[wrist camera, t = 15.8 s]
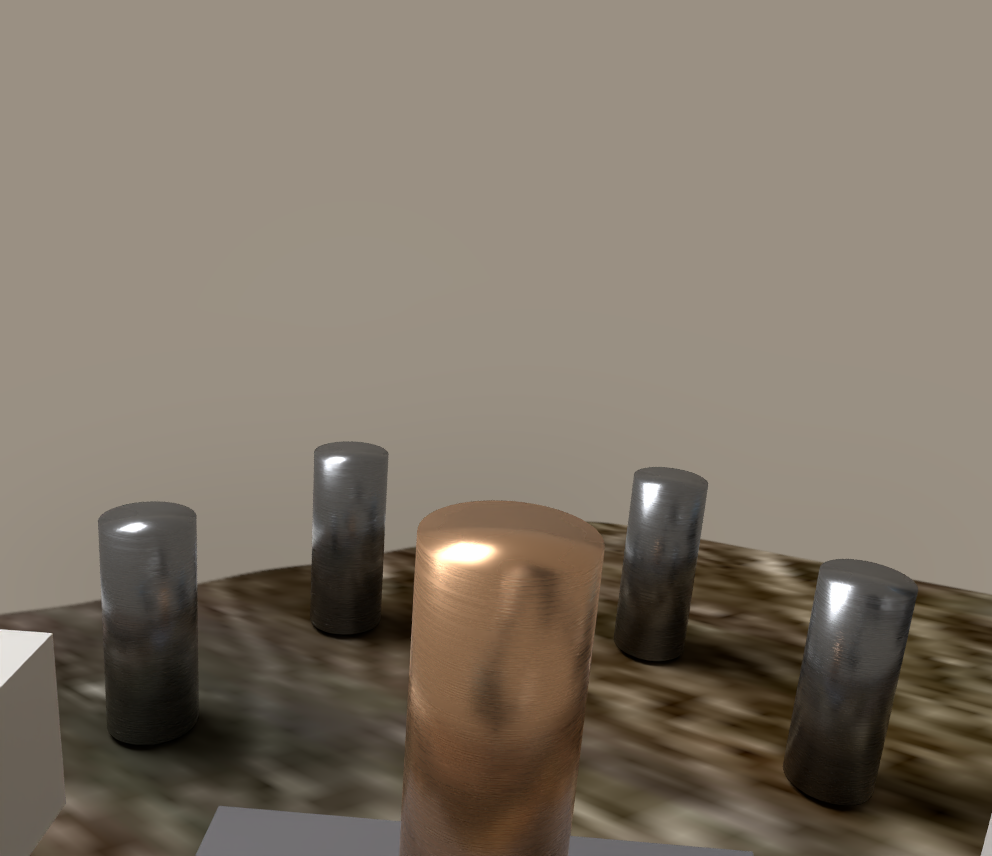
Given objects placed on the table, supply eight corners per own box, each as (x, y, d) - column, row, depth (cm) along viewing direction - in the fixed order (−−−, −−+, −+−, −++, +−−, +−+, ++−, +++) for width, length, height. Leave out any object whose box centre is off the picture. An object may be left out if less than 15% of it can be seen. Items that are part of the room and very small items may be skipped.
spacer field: (793, 639, 45) (822, 480, 43) (887, 809, 33) (933, 603, 31) (203, 589, 45) (202, 429, 43) (91, 741, 34) (81, 531, 31)
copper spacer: (554, 888, 28) (598, 508, 24) (557, 1021, 24) (611, 585, 20) (405, 874, 28) (428, 493, 24) (382, 1004, 24) (405, 567, 20)
